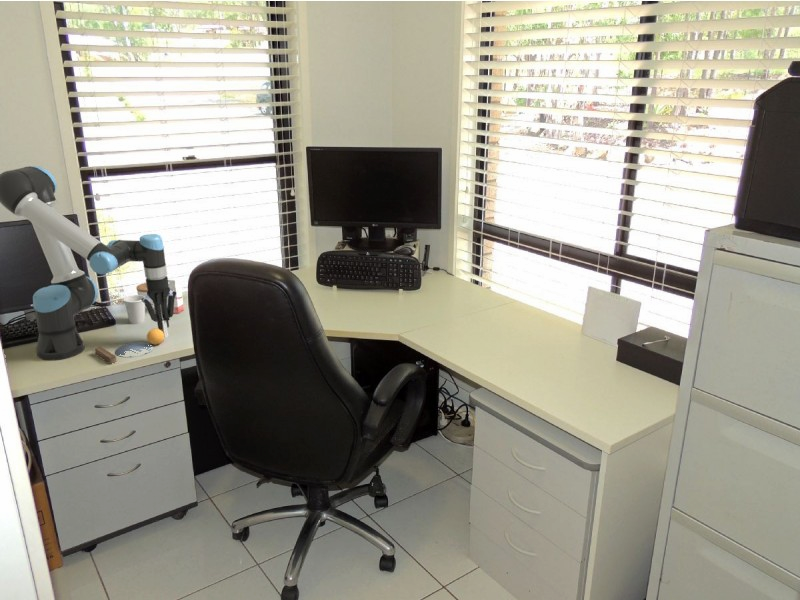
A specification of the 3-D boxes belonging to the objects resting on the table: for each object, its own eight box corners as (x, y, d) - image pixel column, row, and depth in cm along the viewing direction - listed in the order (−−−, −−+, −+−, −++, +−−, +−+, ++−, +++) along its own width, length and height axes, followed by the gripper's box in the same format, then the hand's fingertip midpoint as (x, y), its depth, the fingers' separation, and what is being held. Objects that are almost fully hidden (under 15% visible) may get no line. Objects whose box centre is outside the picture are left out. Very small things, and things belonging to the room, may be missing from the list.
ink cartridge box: (184, 309, 267) (181, 277, 262) (178, 313, 262) (175, 280, 257) (166, 308, 268) (162, 275, 263) (160, 312, 263) (156, 279, 258)
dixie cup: (123, 320, 254) (120, 297, 250) (144, 316, 259) (142, 293, 255) (129, 326, 248) (126, 303, 244) (151, 322, 252) (148, 299, 249)
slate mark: (125, 360, 218) (125, 360, 218) (108, 349, 226) (108, 349, 226) (160, 349, 228) (160, 349, 227) (143, 339, 236) (143, 339, 236)
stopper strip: (110, 364, 215) (110, 357, 214) (95, 354, 223) (94, 347, 222) (116, 362, 216) (115, 356, 216) (101, 352, 224) (100, 346, 223)
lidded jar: (164, 297, 281) (161, 277, 278) (164, 305, 271) (162, 284, 268) (138, 299, 277) (136, 279, 274) (138, 307, 268) (135, 287, 265)
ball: (156, 350, 230) (148, 338, 226) (149, 344, 234) (141, 333, 230) (169, 340, 233) (162, 328, 229) (162, 334, 237) (155, 323, 233)
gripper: (167, 270, 233) (175, 328, 241) (134, 278, 224) (143, 338, 232) (178, 274, 229) (185, 333, 237) (144, 283, 219) (153, 344, 228)
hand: (164, 336), depth 234 cm, fingers closed
